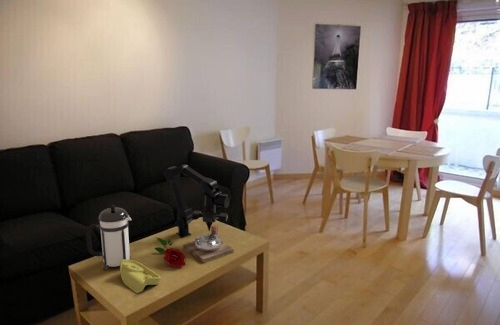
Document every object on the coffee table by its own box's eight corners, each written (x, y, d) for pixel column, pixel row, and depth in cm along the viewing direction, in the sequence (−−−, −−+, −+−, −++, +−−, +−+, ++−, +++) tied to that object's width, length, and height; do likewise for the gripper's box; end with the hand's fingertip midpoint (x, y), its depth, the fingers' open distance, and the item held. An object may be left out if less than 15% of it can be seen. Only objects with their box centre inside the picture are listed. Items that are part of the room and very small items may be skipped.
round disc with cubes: (215, 253, 186) (215, 241, 184) (191, 250, 189) (191, 237, 188) (227, 238, 203) (227, 226, 202) (204, 235, 207) (204, 223, 205)
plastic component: (163, 278, 164) (145, 278, 156) (156, 294, 163) (138, 295, 155) (136, 260, 175) (119, 259, 167) (130, 275, 175) (112, 274, 167)
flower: (150, 227, 194) (179, 253, 172) (165, 230, 200) (194, 256, 179) (142, 243, 193) (171, 271, 172) (157, 246, 200) (186, 273, 178)
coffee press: (121, 252, 190) (116, 196, 183) (139, 263, 180) (136, 204, 173) (88, 265, 177) (82, 206, 170) (106, 277, 167) (101, 215, 160)
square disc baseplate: (183, 247, 196) (183, 244, 196) (212, 238, 207) (212, 235, 207) (203, 263, 181) (203, 259, 181) (233, 252, 192) (233, 248, 192)
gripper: (189, 207, 192) (188, 235, 196) (225, 211, 190) (223, 239, 194) (194, 200, 202) (193, 226, 206) (228, 203, 201) (227, 230, 205)
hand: (209, 230), depth 203 cm, fingers closed
